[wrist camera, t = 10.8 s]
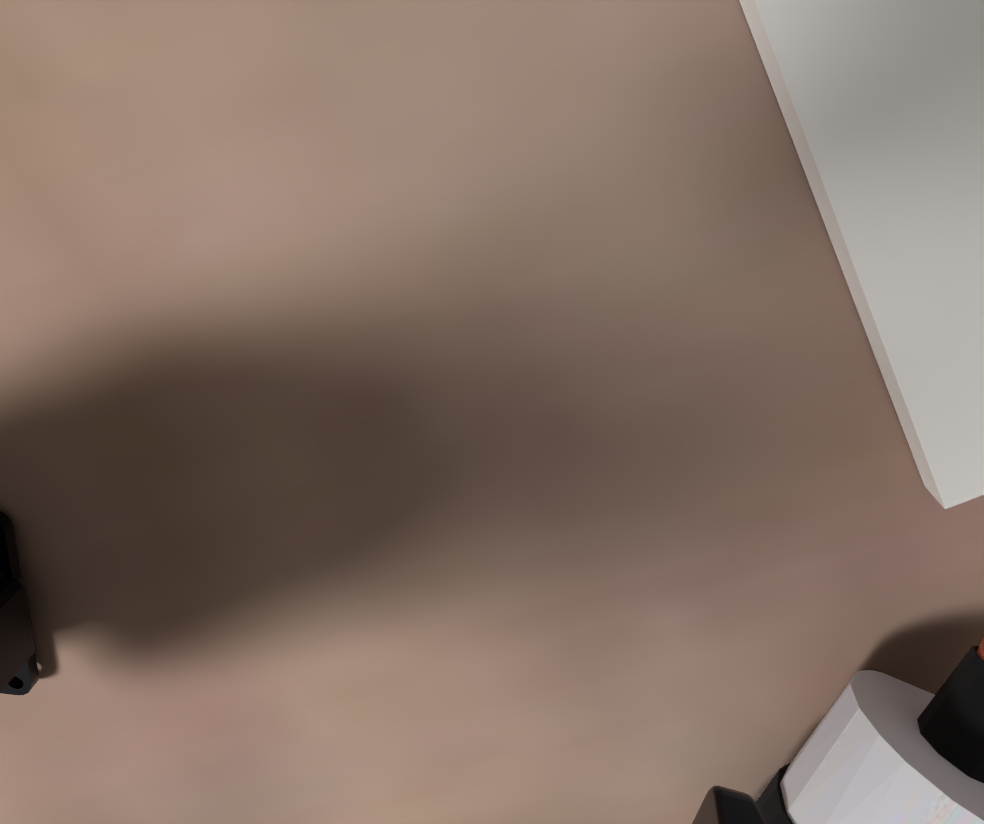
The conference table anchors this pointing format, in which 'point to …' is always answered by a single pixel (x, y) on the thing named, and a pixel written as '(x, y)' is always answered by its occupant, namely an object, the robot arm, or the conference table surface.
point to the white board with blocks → (899, 197)
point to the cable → (890, 755)
